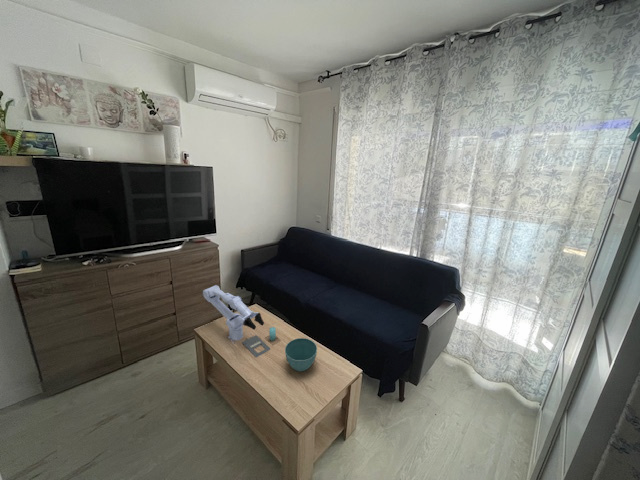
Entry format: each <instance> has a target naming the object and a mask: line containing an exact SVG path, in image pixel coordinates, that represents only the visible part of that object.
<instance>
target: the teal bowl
mask: <svg viewBox="0 0 640 480" xmlns="http://www.w3.org/2000/svg"><path fill="white" fill-rule="evenodd" d="M284 353H285V357H286V360H287V362H288V364H289V366H290V367H291V368H292V369H293V370H295V371H296V372H305V371H306V370H308V369H309V368H310V367H312V365H313V364H314V362H315V359H316V357H317V353H318V346H317V344H316V343H315V342H314V341H313V340H312V339H309V338H304V337H300V338H294V339H292V340H290V341H289V342H288V343H287V344H286V345H285V349H284Z"/></svg>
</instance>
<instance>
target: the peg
mask: <svg viewBox="0 0 640 480" xmlns="http://www.w3.org/2000/svg"><path fill="white" fill-rule="evenodd" d="M268 332H269V335H270V341H275V340H276V336H277V334H276V333H277V331H276V327H274V326H273V327H270V328H269V330H268Z"/></svg>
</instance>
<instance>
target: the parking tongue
mask: <svg viewBox="0 0 640 480" xmlns="http://www.w3.org/2000/svg"><path fill="white" fill-rule="evenodd" d="M264 339H265V340H266V341H267V342H268V343H269V344H270V345H271V346H272V347H273V346H276V345H277V344H278V343H280V342H282V340H281V339H280V338H279V337H278V336H277V335H276V340H275V341H270V334H269V335H268V336H265V337H264Z"/></svg>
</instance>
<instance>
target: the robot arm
mask: <svg viewBox="0 0 640 480" xmlns="http://www.w3.org/2000/svg"><path fill="white" fill-rule="evenodd" d="M202 296H203V298H204V299H205V300H206V301H207V302H208V303H211V305H212V306H213V307H214V308H215V309H216V310H217V311H218V312H219V313H220V314H221V315H222V316H223V317H224V318H225V319H226V321H225V325H226V326H227V328H228V332H229V335H228V339H229V340H231V342H232V343H233V344H234V345H236V343H235V341H241V340H242V339H243V337H244V332H243V326H245V327H248V328H251V329H252V330H256V328H257V326H256V324H255V323H254V322H253V321H255V322H256V323H258V324H259V325H261V326H264V324H265V322H264V320H263V317H262V314H261V313H260V312H258V311H257V312H255V311H252V310H251V309H250V308H249V307H248V306H247V305H246V304H245V303H244V302H243V299H242V297H241V296H239V295H237V296H236V295H233V294H231V293H229V292H226V293H225V292H224V291H223V290H221V288H220V286H219V285H217V284H215V285H213V286H210V287H208V288H206V289H203V290H202ZM221 299H222V300H221ZM224 302H225V303H224ZM226 304H228V305H229V307H230V308H231V309H232V310H234V311H237V312H238V313H236V312H233V311H232V310H230V308H229V307H228V306H227V305H226ZM253 318H254V320H253V321H252V319H253Z"/></svg>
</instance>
